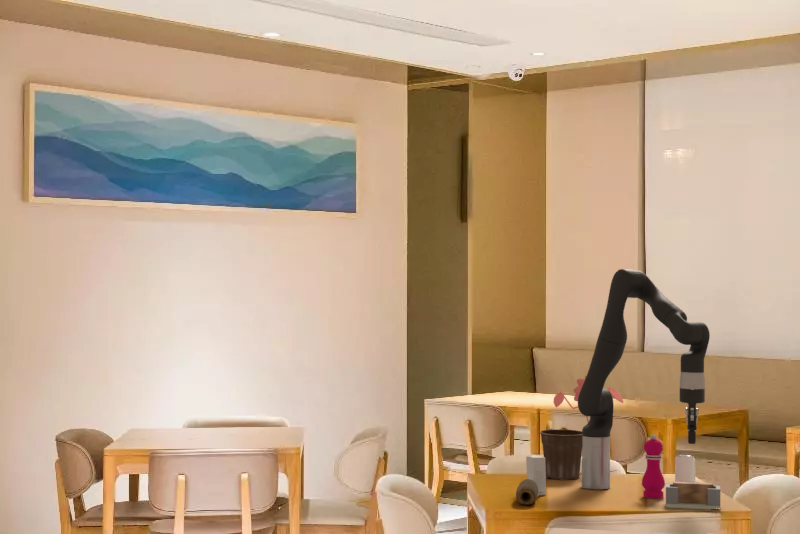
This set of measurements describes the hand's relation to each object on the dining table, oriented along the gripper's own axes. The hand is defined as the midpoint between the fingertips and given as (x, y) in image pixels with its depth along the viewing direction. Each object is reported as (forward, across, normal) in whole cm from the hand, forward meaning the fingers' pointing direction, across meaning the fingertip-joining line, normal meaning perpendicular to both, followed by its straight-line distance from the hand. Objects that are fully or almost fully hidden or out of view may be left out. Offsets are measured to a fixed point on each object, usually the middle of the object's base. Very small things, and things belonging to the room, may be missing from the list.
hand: (691, 443), depth 360 cm
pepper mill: (+19, -13, -12) cm, 26 cm away
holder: (+19, +1, 0) cm, 19 cm away
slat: (+18, 0, 0) cm, 18 cm away
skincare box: (+20, -9, -49) cm, 53 cm away
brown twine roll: (+20, +8, -50) cm, 54 cm away
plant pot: (+20, -47, -44) cm, 67 cm away
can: (+19, -27, -2) cm, 34 cm away
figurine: (+20, -69, -36) cm, 80 cm away
